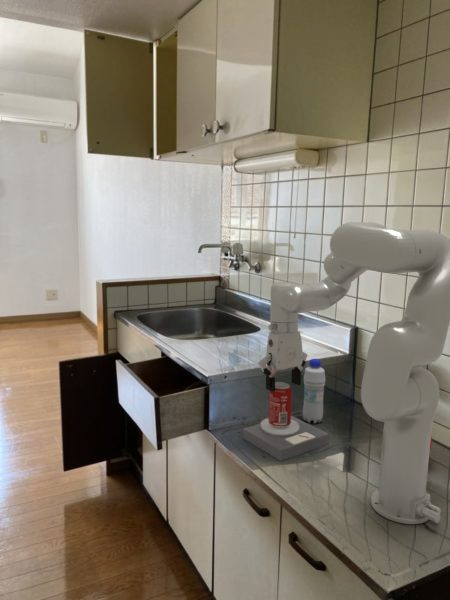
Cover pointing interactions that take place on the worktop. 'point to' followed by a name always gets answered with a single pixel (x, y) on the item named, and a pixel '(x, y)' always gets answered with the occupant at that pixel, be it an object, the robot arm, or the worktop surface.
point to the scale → (285, 438)
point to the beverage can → (280, 405)
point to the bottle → (313, 392)
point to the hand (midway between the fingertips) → (283, 387)
